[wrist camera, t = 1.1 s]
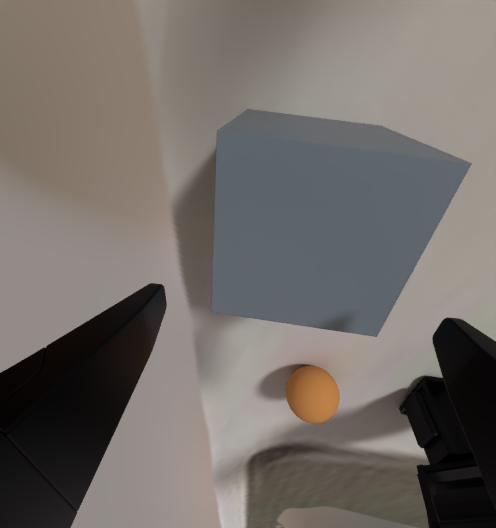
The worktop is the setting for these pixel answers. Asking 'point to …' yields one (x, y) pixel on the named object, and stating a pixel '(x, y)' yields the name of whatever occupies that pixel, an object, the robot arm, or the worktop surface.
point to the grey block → (322, 218)
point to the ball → (312, 394)
